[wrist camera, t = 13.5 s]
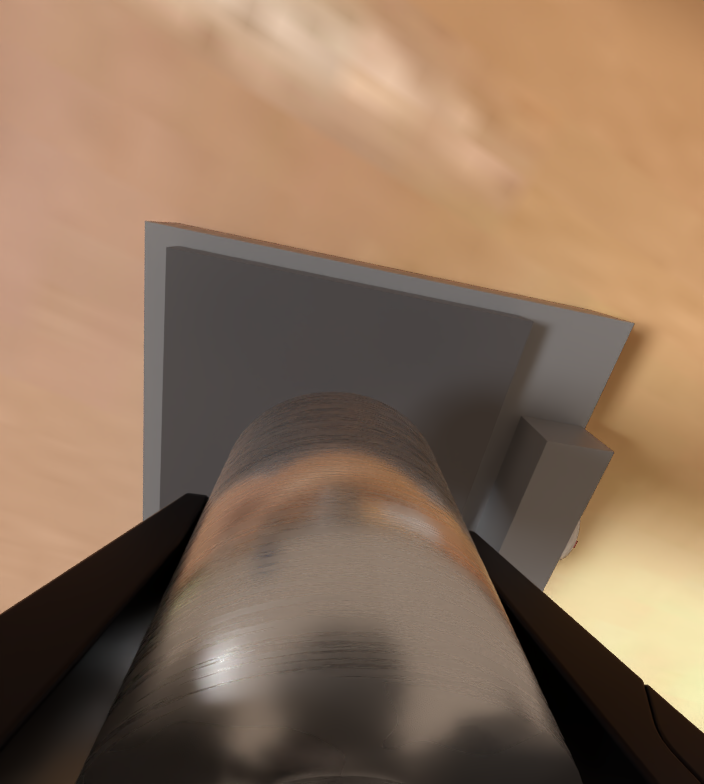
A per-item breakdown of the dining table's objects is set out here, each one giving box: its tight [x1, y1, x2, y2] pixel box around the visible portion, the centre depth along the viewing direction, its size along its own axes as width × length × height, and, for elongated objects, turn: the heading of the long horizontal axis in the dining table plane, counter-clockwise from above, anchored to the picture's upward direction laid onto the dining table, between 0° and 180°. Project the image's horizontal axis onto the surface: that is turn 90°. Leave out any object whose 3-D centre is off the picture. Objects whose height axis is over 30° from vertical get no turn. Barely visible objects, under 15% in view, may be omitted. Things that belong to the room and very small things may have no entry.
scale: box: [143, 221, 634, 592], centre depth 16 cm, size 16×16×4 cm
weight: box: [75, 392, 583, 784], centre depth 6 cm, size 5×5×7 cm
